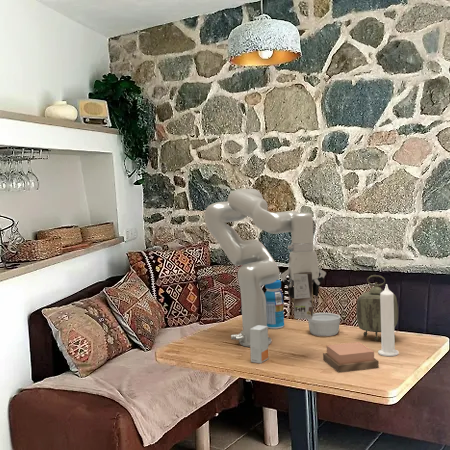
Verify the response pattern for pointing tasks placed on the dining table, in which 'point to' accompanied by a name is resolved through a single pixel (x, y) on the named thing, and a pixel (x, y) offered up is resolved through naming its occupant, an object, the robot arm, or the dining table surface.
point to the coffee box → (303, 295)
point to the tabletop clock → (372, 309)
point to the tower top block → (350, 352)
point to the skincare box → (259, 344)
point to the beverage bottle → (274, 305)
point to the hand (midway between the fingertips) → (303, 296)
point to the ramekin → (324, 324)
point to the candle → (387, 323)
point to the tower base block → (350, 364)
